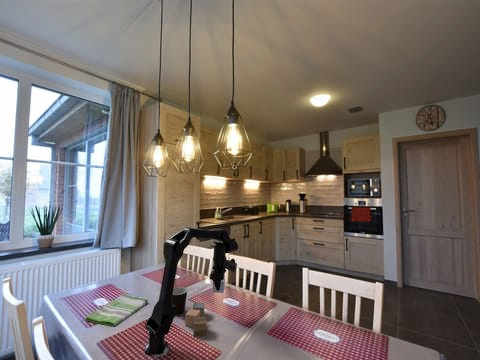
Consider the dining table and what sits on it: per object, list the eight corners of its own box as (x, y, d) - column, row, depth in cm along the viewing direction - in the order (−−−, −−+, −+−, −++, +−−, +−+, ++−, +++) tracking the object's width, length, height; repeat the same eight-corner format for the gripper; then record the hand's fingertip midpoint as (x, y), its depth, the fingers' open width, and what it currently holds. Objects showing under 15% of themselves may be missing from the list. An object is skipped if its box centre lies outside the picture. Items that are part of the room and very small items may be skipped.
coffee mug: (182, 317, 107) (182, 295, 107) (165, 315, 109) (165, 293, 109) (192, 305, 118) (192, 285, 119) (176, 303, 120) (177, 284, 120)
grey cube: (223, 292, 107) (223, 282, 107) (212, 292, 107) (213, 281, 107) (224, 288, 112) (224, 278, 112) (214, 288, 112) (214, 277, 112)
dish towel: (148, 303, 121) (149, 296, 121) (115, 328, 99) (115, 319, 99) (121, 299, 125) (121, 292, 125) (83, 322, 103) (83, 314, 103)
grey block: (203, 318, 107) (203, 307, 107) (192, 318, 106) (192, 307, 107) (204, 312, 112) (204, 302, 112) (193, 313, 111) (194, 302, 112)
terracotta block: (196, 327, 99) (196, 316, 99) (185, 326, 100) (185, 314, 100) (200, 321, 104) (200, 310, 104) (189, 320, 105) (189, 309, 105)
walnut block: (205, 335, 94) (206, 323, 94) (193, 336, 93) (193, 324, 93) (205, 328, 99) (206, 316, 99) (194, 329, 98) (194, 317, 98)
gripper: (235, 261, 101) (234, 297, 100) (237, 250, 119) (236, 281, 118) (209, 260, 101) (209, 296, 100) (216, 250, 120) (215, 280, 119)
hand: (218, 288), depth 109 cm, fingers closed on grey cube, 5 cm apart
